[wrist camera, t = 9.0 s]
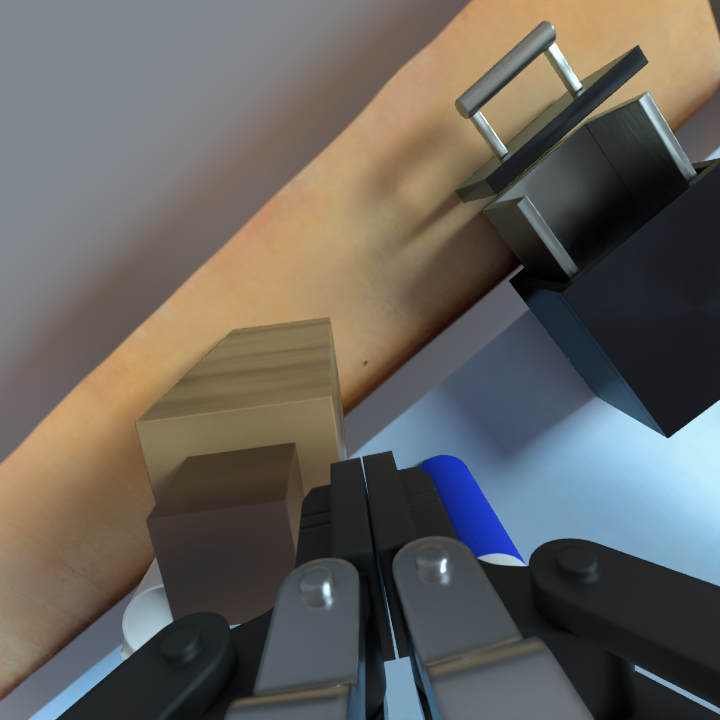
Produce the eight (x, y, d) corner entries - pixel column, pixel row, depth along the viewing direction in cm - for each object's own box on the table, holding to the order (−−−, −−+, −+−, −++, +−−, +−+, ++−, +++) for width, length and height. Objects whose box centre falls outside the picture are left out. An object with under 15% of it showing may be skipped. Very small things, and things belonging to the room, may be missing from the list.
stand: (232, 329, 38) (133, 423, 19) (330, 317, 38) (331, 396, 19) (250, 420, 40) (177, 588, 21) (342, 407, 40) (355, 563, 21)
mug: (219, 472, 41) (175, 564, 29) (270, 522, 43) (248, 628, 31) (137, 539, 42) (64, 652, 31) (190, 585, 44) (140, 710, 32)
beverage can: (415, 506, 43) (459, 642, 29) (409, 456, 42) (451, 571, 27) (470, 498, 43) (541, 628, 29) (466, 447, 42) (537, 557, 28)
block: (186, 456, 19) (145, 519, 15) (295, 441, 19) (285, 500, 15) (208, 549, 20) (175, 634, 16) (311, 535, 20) (306, 614, 16)
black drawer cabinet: (508, 280, 38) (561, 293, 30) (634, 175, 37) (729, 155, 28) (596, 396, 42) (668, 438, 33) (715, 303, 40) (824, 321, 31)
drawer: (415, 139, 34) (437, 114, 27) (538, 27, 33) (595, -30, 26) (545, 313, 38) (594, 329, 31) (660, 219, 37) (738, 214, 30)
